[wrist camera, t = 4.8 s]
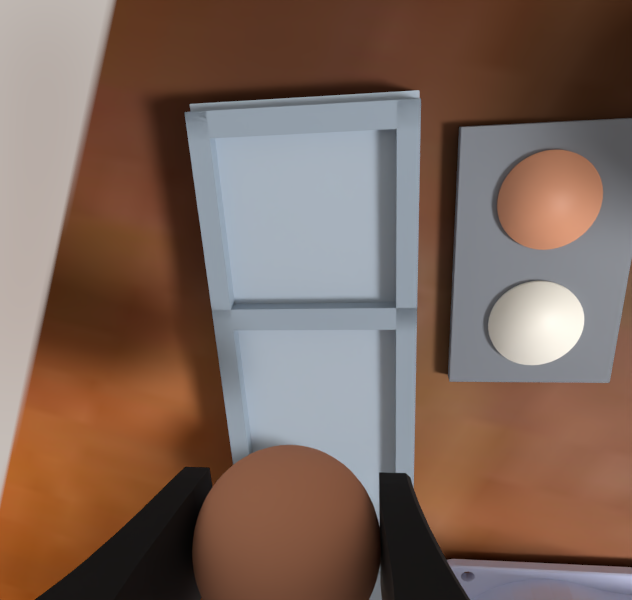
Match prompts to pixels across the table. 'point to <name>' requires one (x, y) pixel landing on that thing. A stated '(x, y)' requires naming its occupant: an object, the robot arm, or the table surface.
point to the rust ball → (287, 530)
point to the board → (314, 272)
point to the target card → (540, 250)
